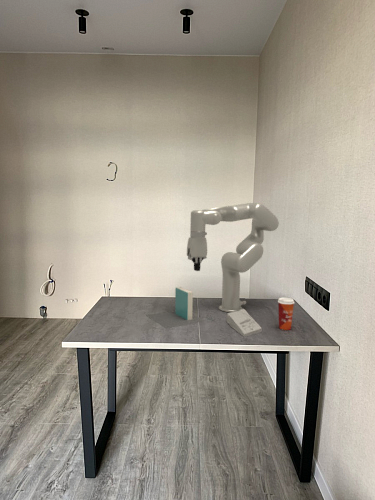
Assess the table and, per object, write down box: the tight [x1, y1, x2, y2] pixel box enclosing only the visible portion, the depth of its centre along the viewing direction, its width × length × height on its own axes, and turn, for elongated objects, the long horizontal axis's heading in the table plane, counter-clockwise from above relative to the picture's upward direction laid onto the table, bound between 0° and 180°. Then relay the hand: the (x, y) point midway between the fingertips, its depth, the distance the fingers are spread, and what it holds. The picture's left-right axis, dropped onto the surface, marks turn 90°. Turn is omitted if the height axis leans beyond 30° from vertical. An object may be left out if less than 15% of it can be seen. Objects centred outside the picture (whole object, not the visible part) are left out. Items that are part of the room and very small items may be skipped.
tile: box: [174, 286, 194, 320], centre depth 191 cm, size 3×12×14 cm, turn 31°
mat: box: [146, 310, 206, 329], centre depth 189 cm, size 22×22×1 cm
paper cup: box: [277, 297, 295, 331], centre depth 177 cm, size 8×8×14 cm
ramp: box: [226, 308, 263, 338], centre depth 179 cm, size 28×16×5 cm, turn 175°
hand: (197, 270), depth 193 cm, fingers closed
